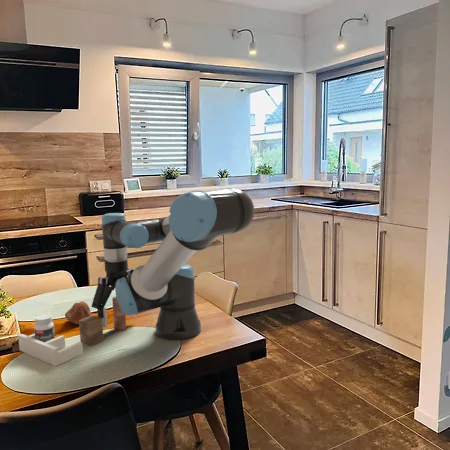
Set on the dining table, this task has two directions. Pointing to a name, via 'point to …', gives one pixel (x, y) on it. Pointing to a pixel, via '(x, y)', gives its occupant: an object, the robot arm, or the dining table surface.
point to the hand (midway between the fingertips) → (119, 319)
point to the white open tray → (49, 349)
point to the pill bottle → (44, 328)
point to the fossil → (78, 312)
